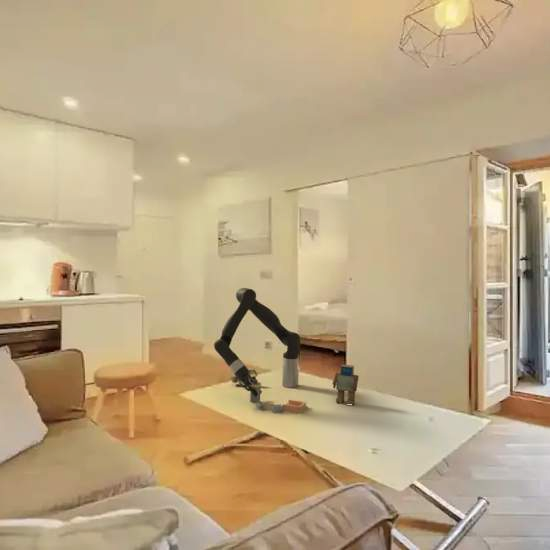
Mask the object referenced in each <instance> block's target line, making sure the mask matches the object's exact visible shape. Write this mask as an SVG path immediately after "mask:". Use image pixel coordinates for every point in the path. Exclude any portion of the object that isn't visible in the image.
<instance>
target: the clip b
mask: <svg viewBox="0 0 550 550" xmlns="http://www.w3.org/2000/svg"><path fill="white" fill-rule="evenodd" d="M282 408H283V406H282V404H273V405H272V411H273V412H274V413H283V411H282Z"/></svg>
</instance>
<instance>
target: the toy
mask: <svg viewBox="0 0 550 550" xmlns="http://www.w3.org/2000/svg"><path fill="white" fill-rule="evenodd" d="M354 372H355V366H354V365H350V364H342V365H340V372H335V375H334V378H333V381H332V385H333V389H336V390H337V397H336V399H335V403H336V402H339V403H338V404H341V403H342V402H343V403H344V402H345V392H347V400H346V403H345V404H353V403H354V402H355V403H356V392H357V389H358V383H359V375H358V374H354ZM343 403H342V404H343ZM355 403H354V404H355Z"/></svg>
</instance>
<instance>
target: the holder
mask: <svg viewBox="0 0 550 550" xmlns="http://www.w3.org/2000/svg"><path fill="white" fill-rule="evenodd" d="M281 406H283V408H282V412H287V413H288V412H289V413H293V414H294V413H295V414H299V413H301V412H302V413H303V412H304V411H305V410H306V409H307V408H308V405H307V402H306V401H302V400H295V399H294V400H293V399H288V402H287V403H283V404H281ZM303 410H304V411H303ZM302 413H301V414H302Z"/></svg>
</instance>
